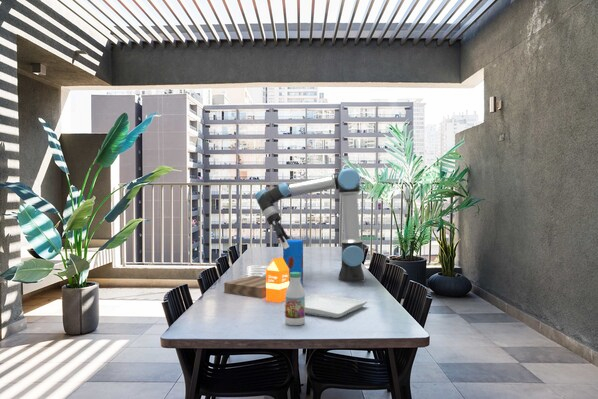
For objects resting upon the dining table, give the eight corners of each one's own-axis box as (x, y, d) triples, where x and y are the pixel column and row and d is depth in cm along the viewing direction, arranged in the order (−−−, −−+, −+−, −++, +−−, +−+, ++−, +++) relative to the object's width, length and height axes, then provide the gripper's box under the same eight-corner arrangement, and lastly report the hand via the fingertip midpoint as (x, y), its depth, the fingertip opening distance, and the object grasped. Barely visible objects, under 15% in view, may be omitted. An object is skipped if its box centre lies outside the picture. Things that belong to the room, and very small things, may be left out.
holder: (260, 283, 270) (260, 278, 269) (229, 282, 272) (229, 277, 272) (275, 270, 314) (275, 266, 314) (249, 269, 317) (249, 265, 317)
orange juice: (289, 298, 228) (289, 257, 228) (279, 302, 221) (279, 259, 220) (275, 297, 232) (275, 256, 232) (265, 300, 224) (265, 258, 224)
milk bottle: (284, 320, 190) (284, 271, 189) (303, 320, 190) (303, 270, 190) (285, 326, 182) (285, 274, 182) (305, 325, 183) (305, 274, 182)
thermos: (300, 288, 251) (300, 241, 251) (281, 287, 253) (281, 241, 253) (304, 284, 262) (304, 239, 261) (285, 284, 264) (285, 239, 264)
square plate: (340, 322, 189) (340, 312, 188) (283, 313, 203) (283, 304, 203) (367, 308, 212) (367, 299, 211) (314, 300, 226) (314, 292, 226)
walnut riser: (289, 289, 249) (289, 280, 249) (261, 298, 229) (261, 288, 229) (253, 284, 262) (253, 275, 262) (224, 292, 242) (224, 282, 242)
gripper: (271, 222, 276) (288, 254, 271) (260, 215, 252) (278, 250, 246) (282, 215, 275) (299, 247, 270) (272, 208, 251) (291, 243, 246)
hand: (289, 249), depth 258 cm, fingers open, 13 cm apart
